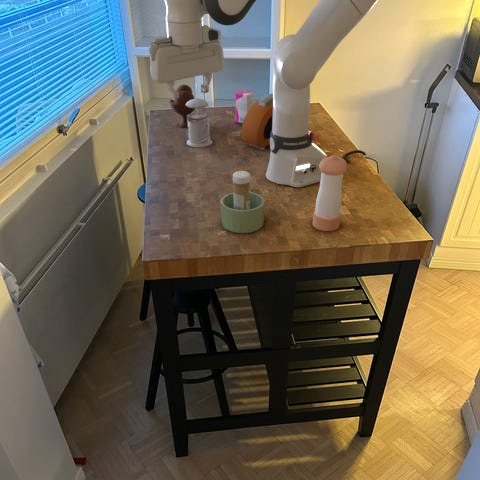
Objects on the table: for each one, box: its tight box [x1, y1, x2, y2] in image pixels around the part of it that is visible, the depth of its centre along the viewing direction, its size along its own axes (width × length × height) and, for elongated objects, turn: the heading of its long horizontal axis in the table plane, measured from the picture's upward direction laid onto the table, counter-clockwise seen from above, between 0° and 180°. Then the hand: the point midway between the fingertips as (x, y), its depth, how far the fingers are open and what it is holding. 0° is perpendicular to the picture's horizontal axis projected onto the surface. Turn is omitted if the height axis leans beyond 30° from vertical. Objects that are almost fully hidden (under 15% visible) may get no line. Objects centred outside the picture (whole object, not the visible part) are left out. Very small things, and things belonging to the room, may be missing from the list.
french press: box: [186, 76, 213, 148], centre depth 170 cm, size 10×12×25 cm
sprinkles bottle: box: [232, 170, 251, 210], centre depth 126 cm, size 5×5×14 cm
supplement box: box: [234, 90, 255, 125], centre depth 191 cm, size 6×6×12 cm
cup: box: [220, 191, 265, 234], centre depth 129 cm, size 12×12×6 cm
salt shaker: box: [312, 154, 348, 232], centre depth 123 cm, size 7×7×19 cm
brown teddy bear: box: [169, 84, 196, 128], centre depth 188 cm, size 11×11×15 cm
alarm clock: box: [241, 92, 273, 151], centre depth 172 cm, size 23×9×17 cm, turn 129°
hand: (190, 95), depth 123 cm, fingers open, 8 cm apart
